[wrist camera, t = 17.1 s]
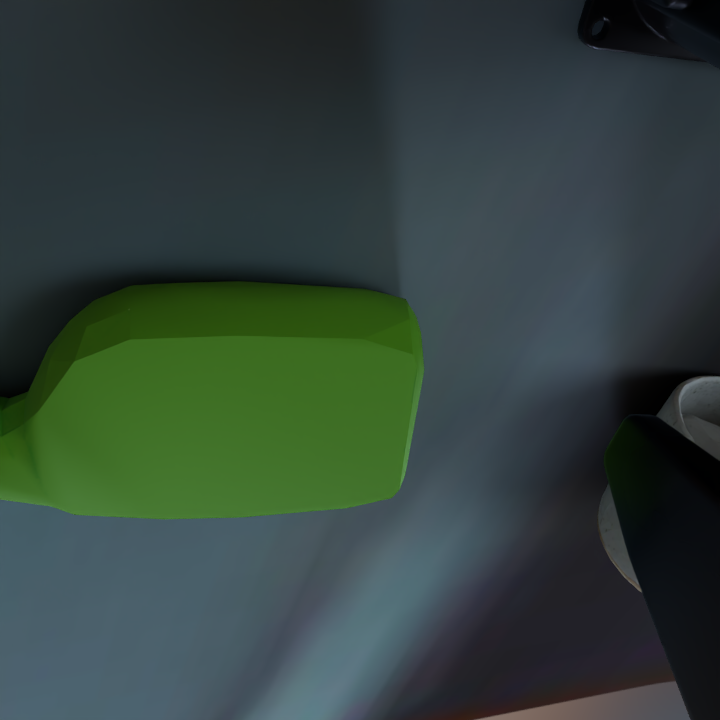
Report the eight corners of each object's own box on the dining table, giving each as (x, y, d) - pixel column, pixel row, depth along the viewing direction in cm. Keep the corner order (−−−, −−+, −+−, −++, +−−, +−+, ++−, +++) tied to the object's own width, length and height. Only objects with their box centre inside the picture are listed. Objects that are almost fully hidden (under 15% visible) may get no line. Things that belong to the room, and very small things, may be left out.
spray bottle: (392, 467, 30) (-203, 494, 27) (423, 261, 23) (-377, 265, 20) (403, 521, 28) (-244, 558, 25) (441, 312, 21) (-457, 325, 18)
